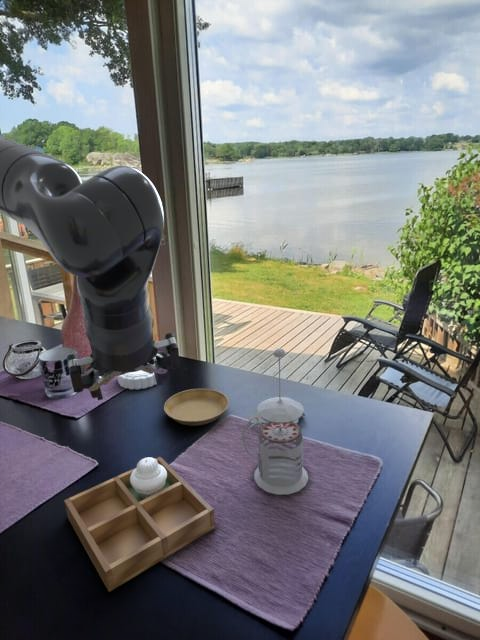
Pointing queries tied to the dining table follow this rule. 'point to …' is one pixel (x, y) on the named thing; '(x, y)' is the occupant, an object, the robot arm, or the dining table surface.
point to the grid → (136, 524)
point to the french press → (275, 465)
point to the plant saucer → (196, 406)
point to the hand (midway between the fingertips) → (129, 386)
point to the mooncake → (137, 380)
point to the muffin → (148, 477)
